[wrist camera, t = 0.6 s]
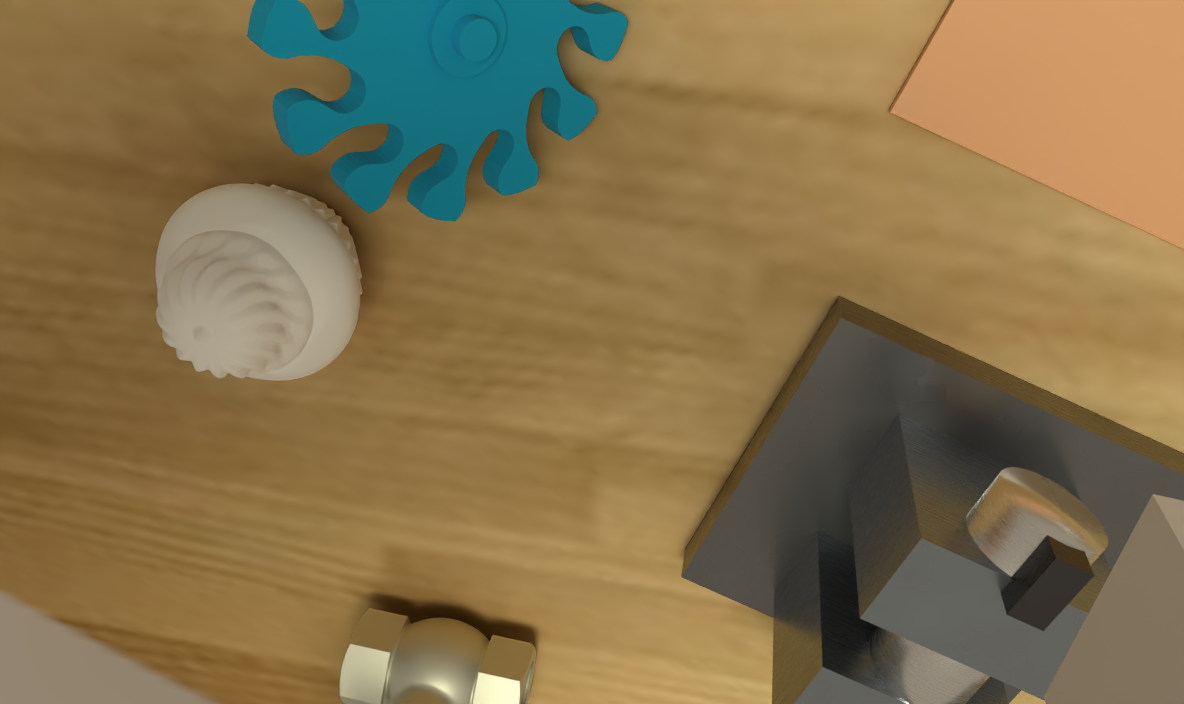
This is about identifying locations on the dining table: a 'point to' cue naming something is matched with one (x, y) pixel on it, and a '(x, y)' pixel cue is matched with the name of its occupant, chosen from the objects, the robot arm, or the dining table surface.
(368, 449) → the dining table surface
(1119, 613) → the robot arm
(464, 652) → the valve
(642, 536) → the dining table surface
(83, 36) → the dining table surface
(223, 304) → the white rounded lump
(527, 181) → the gear
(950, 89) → the pad
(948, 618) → the shaft stand
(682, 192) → the dining table surface
